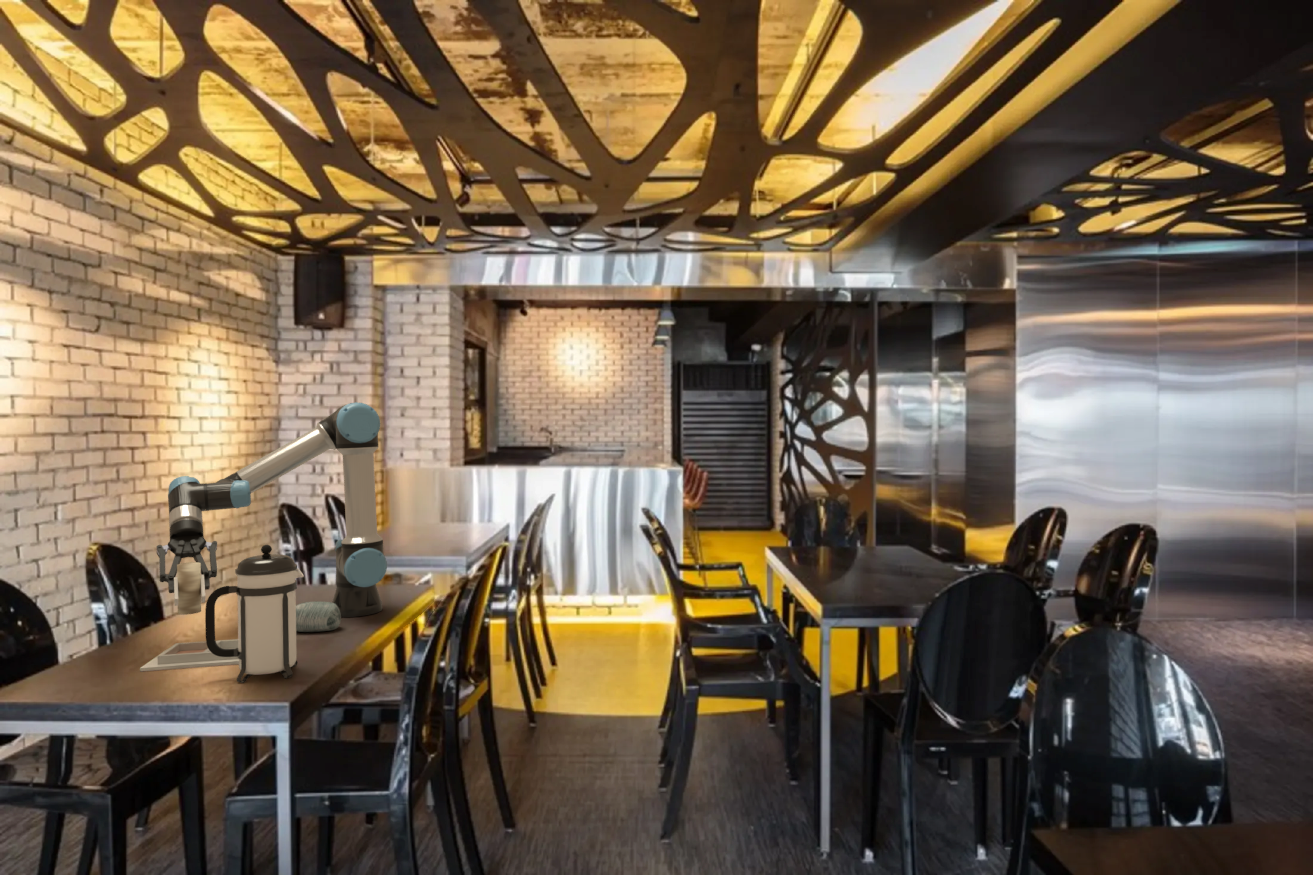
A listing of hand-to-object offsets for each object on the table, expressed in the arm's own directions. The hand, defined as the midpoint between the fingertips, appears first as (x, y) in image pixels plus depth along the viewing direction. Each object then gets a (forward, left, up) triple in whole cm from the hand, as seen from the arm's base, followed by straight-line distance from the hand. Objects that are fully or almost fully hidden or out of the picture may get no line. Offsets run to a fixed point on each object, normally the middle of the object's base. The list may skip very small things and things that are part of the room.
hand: (190, 600), depth 190 cm
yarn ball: (-24, -25, -15) cm, 38 cm away
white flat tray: (-4, -3, -15) cm, 16 cm away
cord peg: (+1, -3, -3) cm, 5 cm away
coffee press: (-20, +16, -15) cm, 29 cm away
